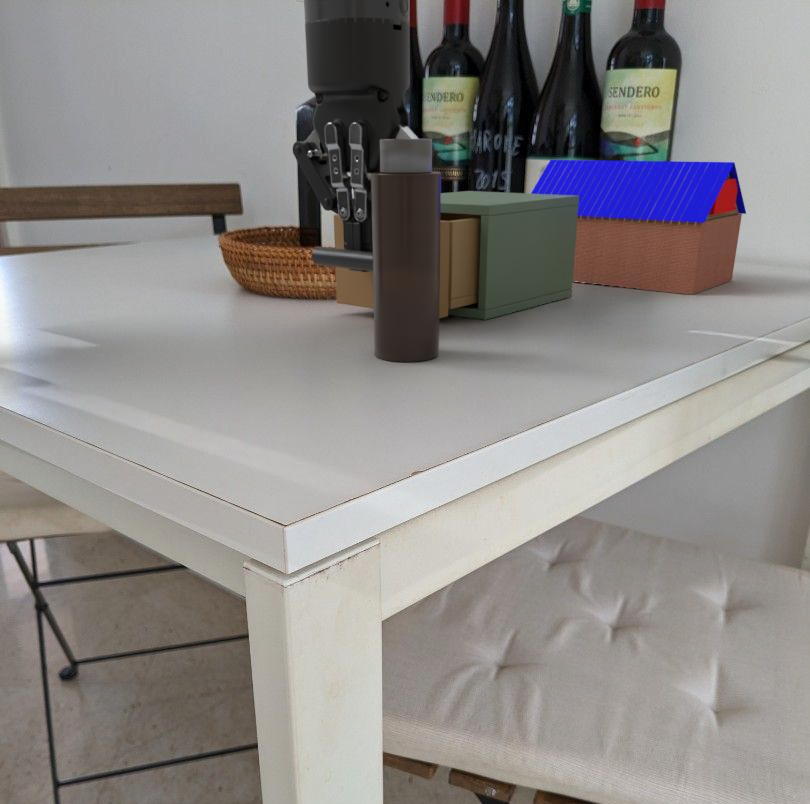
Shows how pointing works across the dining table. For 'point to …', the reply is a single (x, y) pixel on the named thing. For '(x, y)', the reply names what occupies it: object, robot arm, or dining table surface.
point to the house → (651, 221)
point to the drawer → (454, 264)
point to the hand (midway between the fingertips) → (363, 270)
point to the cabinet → (519, 249)
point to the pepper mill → (406, 251)
